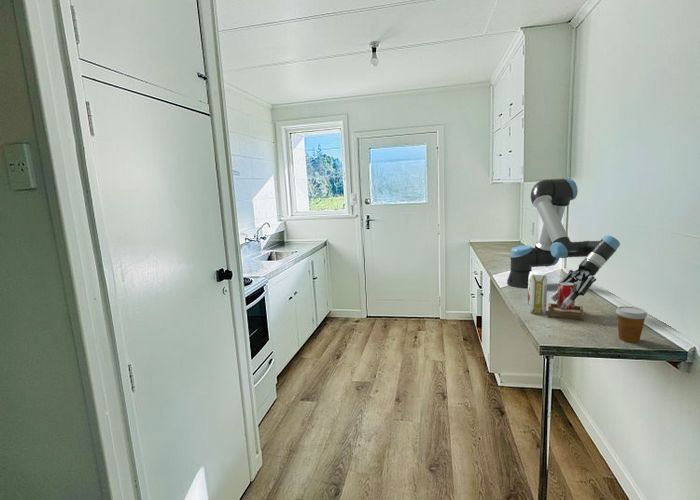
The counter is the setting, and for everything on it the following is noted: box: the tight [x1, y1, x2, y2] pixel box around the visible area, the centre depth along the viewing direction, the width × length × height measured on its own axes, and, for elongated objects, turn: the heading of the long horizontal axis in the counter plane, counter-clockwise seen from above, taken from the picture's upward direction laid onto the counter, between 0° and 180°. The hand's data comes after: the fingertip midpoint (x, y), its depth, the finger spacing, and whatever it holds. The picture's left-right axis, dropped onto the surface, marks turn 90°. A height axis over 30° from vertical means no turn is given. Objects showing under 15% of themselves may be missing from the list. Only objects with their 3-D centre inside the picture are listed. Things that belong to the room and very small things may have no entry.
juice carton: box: [527, 271, 548, 315], centre depth 177 cm, size 8×9×19 cm
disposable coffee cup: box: [615, 305, 648, 344], centre depth 142 cm, size 10×10×12 cm
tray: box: [547, 302, 585, 322], centre depth 173 cm, size 14×14×2 cm
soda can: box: [556, 281, 576, 310], centre depth 172 cm, size 7×7×12 cm
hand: (559, 302), depth 171 cm, fingers closed on soda can, 7 cm apart
